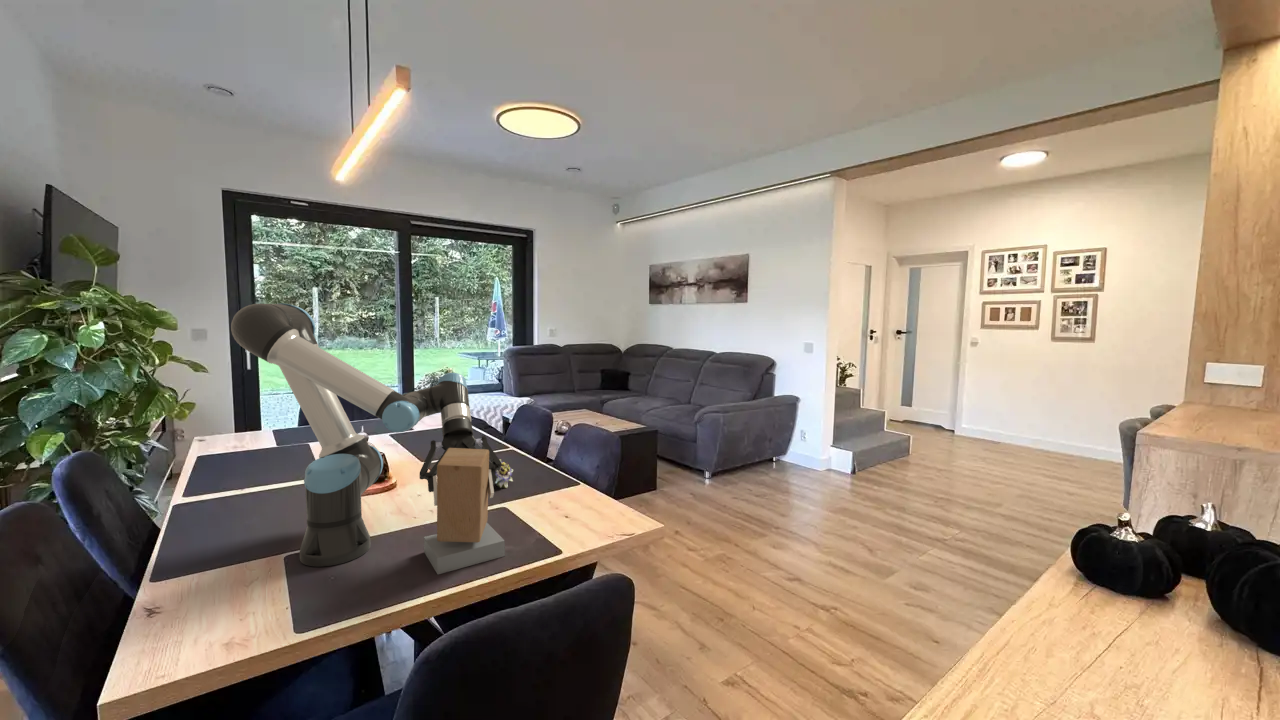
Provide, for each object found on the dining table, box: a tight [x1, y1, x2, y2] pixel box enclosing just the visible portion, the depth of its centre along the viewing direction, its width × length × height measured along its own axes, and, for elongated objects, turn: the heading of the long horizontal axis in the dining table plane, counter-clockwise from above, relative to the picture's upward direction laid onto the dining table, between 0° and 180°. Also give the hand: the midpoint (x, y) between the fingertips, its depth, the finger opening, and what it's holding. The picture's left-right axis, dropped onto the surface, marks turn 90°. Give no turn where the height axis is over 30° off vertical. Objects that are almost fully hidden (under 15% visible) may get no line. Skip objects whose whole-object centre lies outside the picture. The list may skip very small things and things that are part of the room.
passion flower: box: [494, 458, 514, 489], centre depth 175 cm, size 11×11×12 cm
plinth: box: [423, 522, 506, 575], centre depth 126 cm, size 16×13×4 cm
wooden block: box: [436, 448, 490, 542], centre depth 123 cm, size 10×10×20 cm
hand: (464, 499), depth 122 cm, fingers closed on wooden block, 12 cm apart
